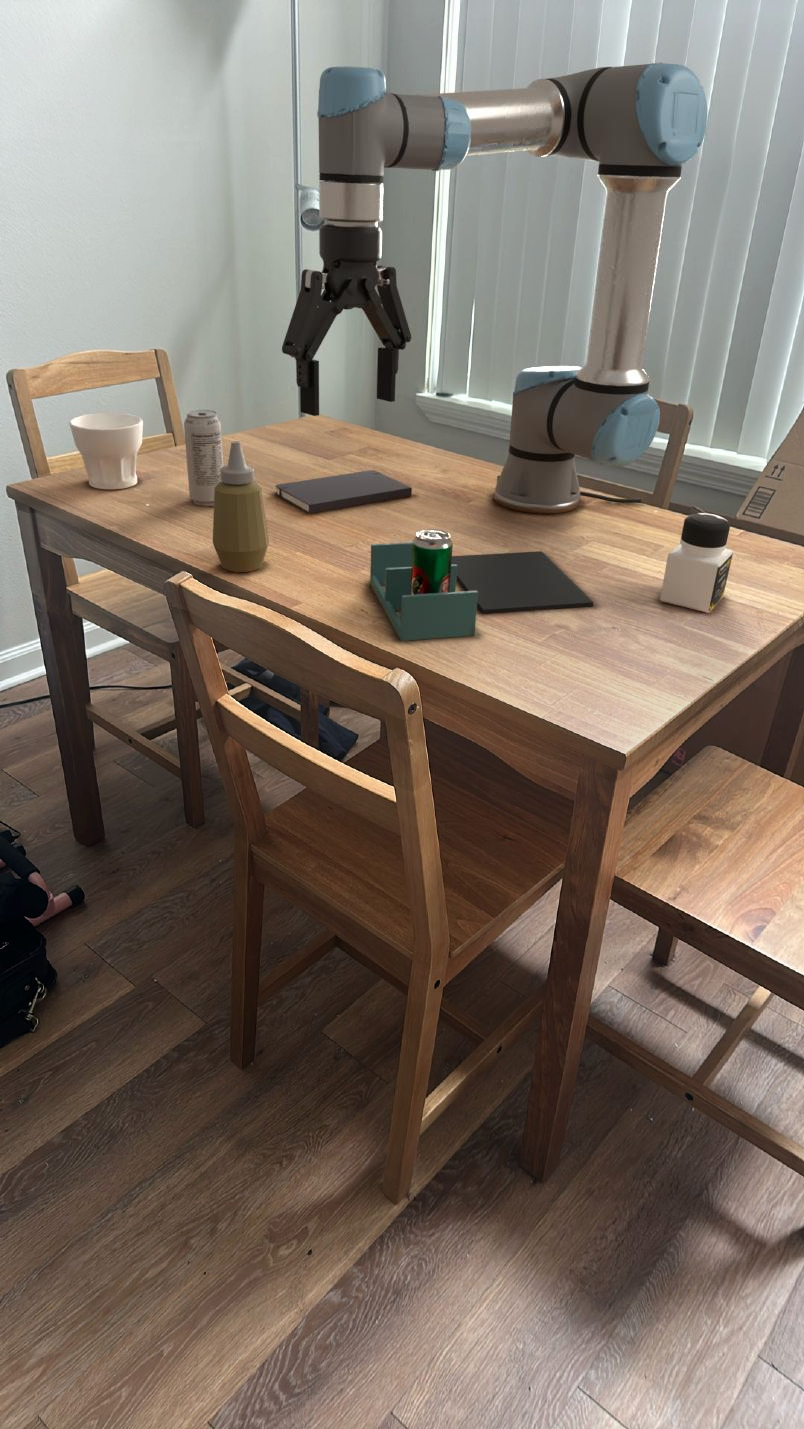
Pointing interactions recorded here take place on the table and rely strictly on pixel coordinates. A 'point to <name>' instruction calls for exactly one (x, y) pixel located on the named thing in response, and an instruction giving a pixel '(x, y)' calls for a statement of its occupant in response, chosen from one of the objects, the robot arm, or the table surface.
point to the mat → (517, 582)
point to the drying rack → (419, 598)
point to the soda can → (431, 562)
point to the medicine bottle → (698, 564)
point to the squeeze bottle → (239, 516)
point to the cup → (108, 448)
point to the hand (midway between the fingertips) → (349, 407)
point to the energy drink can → (203, 455)
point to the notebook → (342, 491)
